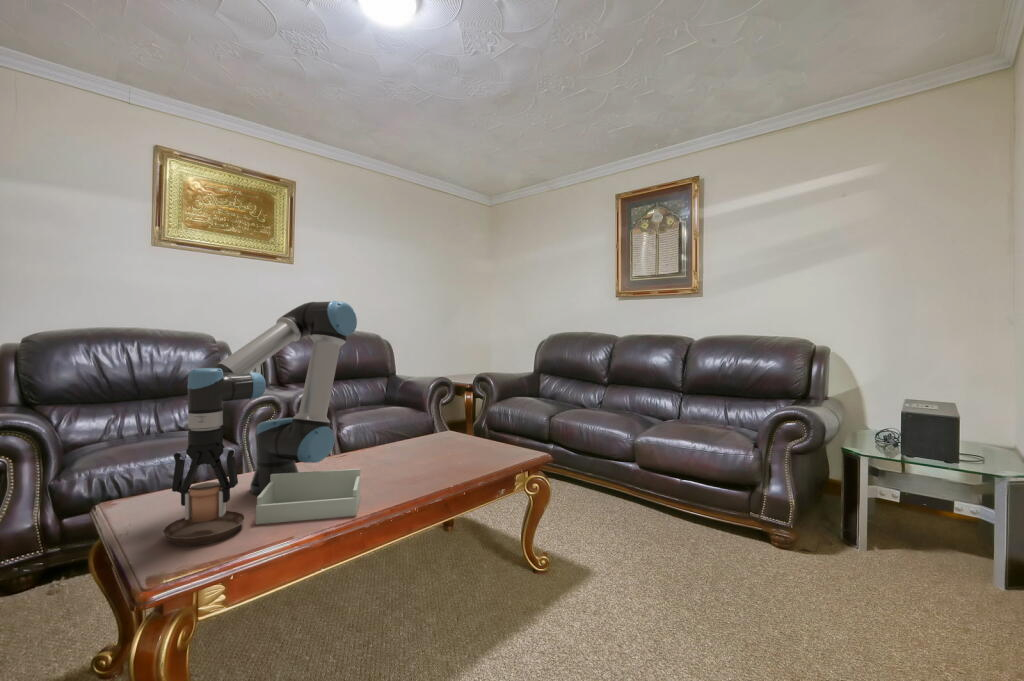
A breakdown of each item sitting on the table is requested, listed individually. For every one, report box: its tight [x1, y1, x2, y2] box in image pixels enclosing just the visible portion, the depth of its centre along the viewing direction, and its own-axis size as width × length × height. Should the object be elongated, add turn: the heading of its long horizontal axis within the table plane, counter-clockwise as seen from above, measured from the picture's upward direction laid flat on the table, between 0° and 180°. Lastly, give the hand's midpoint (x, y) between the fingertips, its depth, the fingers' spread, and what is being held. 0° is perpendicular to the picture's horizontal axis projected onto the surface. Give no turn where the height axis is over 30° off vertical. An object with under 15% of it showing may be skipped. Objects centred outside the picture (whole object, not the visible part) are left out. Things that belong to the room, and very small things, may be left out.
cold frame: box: [255, 468, 361, 525], centre depth 135 cm, size 16×26×9 cm, turn 105°
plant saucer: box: [162, 510, 246, 546], centre depth 119 cm, size 18×18×3 cm
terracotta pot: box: [189, 481, 222, 522], centre depth 119 cm, size 7×7×8 cm
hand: (205, 515), depth 119 cm, fingers closed on terracotta pot, 7 cm apart
